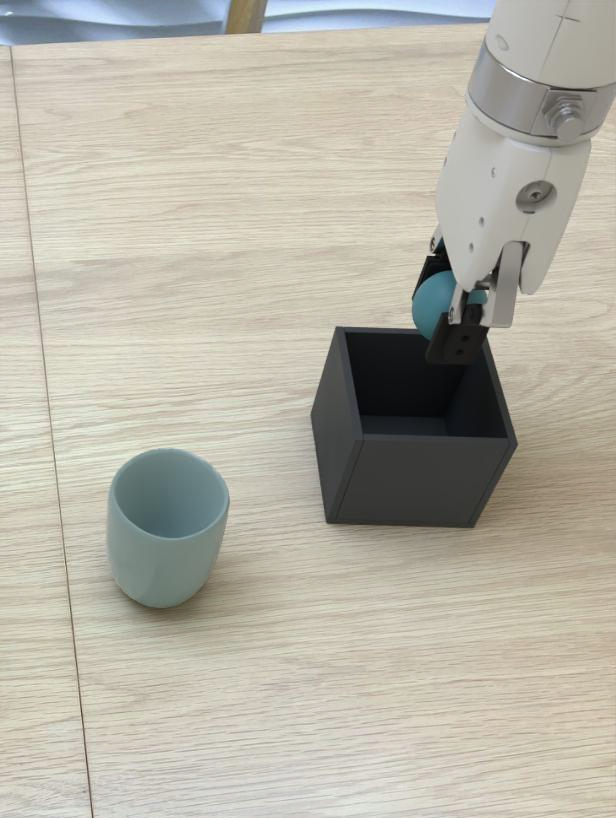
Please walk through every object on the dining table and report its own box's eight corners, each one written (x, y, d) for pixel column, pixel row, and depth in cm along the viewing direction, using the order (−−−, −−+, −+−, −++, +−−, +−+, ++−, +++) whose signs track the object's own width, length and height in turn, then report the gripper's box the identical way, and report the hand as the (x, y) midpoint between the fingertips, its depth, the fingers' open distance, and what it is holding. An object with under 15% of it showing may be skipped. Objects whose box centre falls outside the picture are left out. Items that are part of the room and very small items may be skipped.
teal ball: (467, 311, 76) (490, 256, 72) (480, 361, 73) (506, 306, 69) (398, 309, 75) (417, 253, 72) (409, 358, 73) (430, 303, 69)
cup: (81, 571, 79) (85, 485, 71) (160, 517, 82) (172, 429, 74) (153, 643, 76) (166, 561, 68) (232, 584, 79) (254, 499, 71)
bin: (447, 417, 89) (485, 330, 81) (474, 528, 82) (518, 444, 75) (310, 413, 89) (335, 325, 81) (325, 523, 82) (355, 439, 75)
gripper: (657, 181, 54) (523, 428, 69) (572, 4, 64) (471, 253, 79) (507, 175, 54) (405, 423, 69) (445, -1, 64) (368, 248, 79)
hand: (441, 330), depth 74 cm, fingers closed on teal ball, 4 cm apart
